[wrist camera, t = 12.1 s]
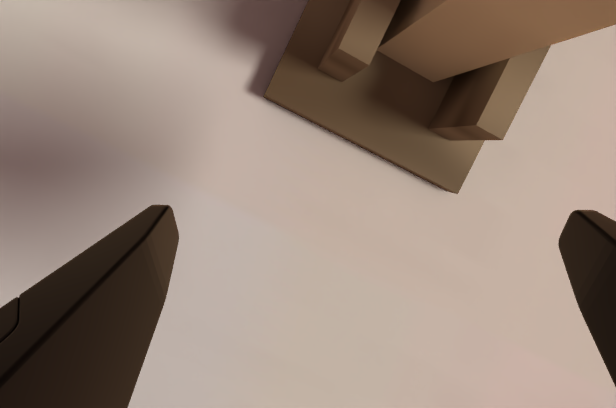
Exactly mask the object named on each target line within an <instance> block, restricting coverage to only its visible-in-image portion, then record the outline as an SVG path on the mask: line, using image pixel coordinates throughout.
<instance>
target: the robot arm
mask: <svg viewBox="0 0 616 408" xmlns="http://www.w3.org/2000/svg"><path fill="white" fill-rule="evenodd" d="M178 241H179V233H178V229H177V225H176V221H175V217H174V213H173V210H172V208H171V207H170V206H169V205H151V206H150V207H148V208H147V209H145V210H144V211H142V212H141V213H139V214H138V215H136V216H135V217H133V218H132V219H131V220H129V221H128V222H126V223H125V224H123V225H122V226H120V227H119V228H117V229H116V230H114V231H113V232H111V233H110V234H109V235H107V236H106V237H104V238H103V239H101V240H100V241H98V242H97V243H95V244H94V245H92V246H91V247H89V248H88V249H87V250H85V251H84V252H82V253H81V254H79V255H78V256H76V257H75V258H73V259H72V260H70V261H69V262H67V263H66V264H64V265H63V266H62V267H60V268H59V269H57V270H56V271H54V272H53V273H51V274H50V275H48V276H47V277H45V278H44V279H42V280H41V281H40V282H38V283H37V284H35V285H34V286H32V287H31V288H29V289H28V290H26V291H25V292H23V293H22V294H21V295H20V296H19V298H18V297H16V298H14V299H13V300H11V301H10V302H9V303H7V304H6V305H4V306H3V307H1V308H0V408H127V407H128V405H129V402H130V399H131V396H132V393H133V391H134V388H135V385H136V382H137V379H138V376H139V374H140V371H141V368H142V365H143V362H144V359H145V357H146V354H147V351H148V348H149V345H150V342H151V340H152V337H153V334H154V331H155V328H156V325H157V323H158V320H159V317H160V314H161V311H162V308H163V305H164V302H165V299H166V295H167V291H168V287H169V282H170V278H171V273H172V269H173V264H174V260H175V255H176V251H177V246H178ZM559 249H560V252H561V255H562V259H563V262H564V265H565V268H566V271H567V274H568V277H569V280H570V283H571V286H572V289H573V292H574V295H575V298H576V300H577V303H578V306H579V308H580V311H581V313H582V315H583V318H584V320H585V322H586V324H587V326H588V328H589V331H590V333H591V335H592V337H593V339H594V341H595V343H596V346H597V348H598V350H599V352H600V354H601V356H602V358H603V361H604V363H605V365H606V367H607V369H608V371H609V374H610V376H611V378H612V380H613V382H614V384H615V386H616V221H614V220H612V219H610V218H608V217H606V216H604V215H602V214H601V213H599V212H597V211H594V210H575V211H573V212H572V213H571V214H570V216H569V218H568V220H567V222H566V224H565V227H564V229H563V231H562V233H561V235H560V238H559Z"/></svg>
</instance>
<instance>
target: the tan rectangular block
mask: <svg viewBox="0 0 616 408" xmlns="http://www.w3.org/2000/svg"><path fill="white" fill-rule="evenodd" d="M615 24H616V0H401V1H400V3H399V5H398V7H397V9H396V11H395V13H394V15H393V17H392V19H391V22H390V24H389V26H388V28H387V30H386V32H385V34H384V36H383V38H382V40H381V42H380V44H379V46H378V49H377V51H379V52H381V53H382V54H384V55H386V56H388V57H389V58H391V59H393V60H395V61H396V62H398V63H400V64H402V65H403V66H405V67H407V68H409V69H410V70H412V71H414V72H416V73H417V74H419V75H421V76H423V77H424V78H426V79H428V80H430V81H431V82H436V81H439V80H442V79H445V78H449V77H452V76H455V75H458V74H461V73H464V72H467V71H471V70H474V69H477V68H480V67H483V66H486V65H489V64H493V63H496V62H499V61H502V60H505V59H508V58H511V57H515V56H518V55H521V54H524V53H527V52H530V51H534V50H537V49H540V48H543V47H546V46H549V45H552V44H556V43H559V42H562V41H565V40H568V39H571V38H574V37H578V36H581V35H584V34H587V33H590V32H593V31H596V30H600V29H603V28H606V27H609V26H612V25H615Z"/></svg>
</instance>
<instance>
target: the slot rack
mask: <svg viewBox="0 0 616 408" xmlns="http://www.w3.org/2000/svg"><path fill="white" fill-rule="evenodd" d="M400 1H401V0H309V1H308V3H307V5H306V7H305V9H304V11H303V13H302V16H301V18H300V20H299V22H298V24H297V26H296V28H295V31H294V33H293V35H292V37H291V39H290V41H289V43H288V46H287V48H286V50H285V52H284V54H283V56H282V58H281V61H280V63H279V65H278V67H277V69H276V71H275V73H274V76H273V78H272V80H271V82H270V84H269V86H268V88H267V91H266V93H265V95H264V97H265V98H267V99H269V100H271V101H273V102H275V103H277V104H278V105H280V106H282V107H284V108H286V109H288V110H290V111H292V112H294V113H296V114H298V115H300V116H302V117H304V118H306V119H308V120H310V121H312V122H314V123H316V124H318V125H320V126H321V127H323V128H325V129H327V130H329V131H331V132H333V133H335V134H337V135H339V136H341V137H343V138H345V139H347V140H349V141H351V142H353V143H355V144H357V145H359V146H361V147H362V148H364V149H366V150H368V151H370V152H372V153H374V154H376V155H378V156H380V157H382V158H384V159H386V160H388V161H390V162H392V163H394V164H396V165H398V166H400V167H402V168H404V169H405V170H407V171H409V172H411V173H413V174H415V175H417V176H419V177H421V178H423V179H425V180H427V181H429V182H431V183H433V184H435V185H437V186H439V187H441V188H443V189H445V190H447V191H448V192H452V193H456V194H458V192H459V190H460V188H461V186H462V184H463V182H464V180H465V179H466V177H467V175H468V173H469V171H470V169H471V167H472V165H473V163H474V161H475V159H476V157H477V155H478V153H479V151H480V149H481V147H482V145H483V143H484V141H485V140H503V138H504V136H505V135H506V133H507V131H508V129H509V127H510V125H511V123H512V121H513V119H514V117H515V115H516V113H517V111H518V109H519V107H520V105H521V103H522V101H523V99H524V97H525V95H526V93H527V91H528V89H529V87H530V85H531V83H532V81H533V79H534V77H535V75H536V74H537V72H538V70H539V68H540V66H541V64H542V62H543V60H544V58H545V56H546V54H547V52H548V50H549V48H550V46H551V45H549V46H546V47H543V48H540V49H537V50H534V51H530V52H527V53H524V54H521V55H518V56H515V57H511V58H508V59H505V60H502V61H499V62H496V63H493V64H489V65H486V66H483V67H480V68H477V69H474V70H471V71H467V72H464V73H461V74H458V75H455V76H452V77H449V78H445V79H442V80H439V81H436V82H431V81H430V80H428V79H426V78H424V77H423V76H421V75H419V74H417V73H416V72H414V71H412V70H410V69H409V68H407V67H405V66H403V65H402V64H400V63H398V62H396V61H395V60H393V59H391V58H389V57H388V56H386V55H384V54H382V53H381V52H379V51H377V49H378V46H379V44H380V42H381V40H382V38H383V36H384V34H385V32H386V30H387V28H388V26H389V24H390V22H391V19H392V17H393V15H394V13H395V11H396V9H397V7H398V5H399V3H400Z"/></svg>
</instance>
